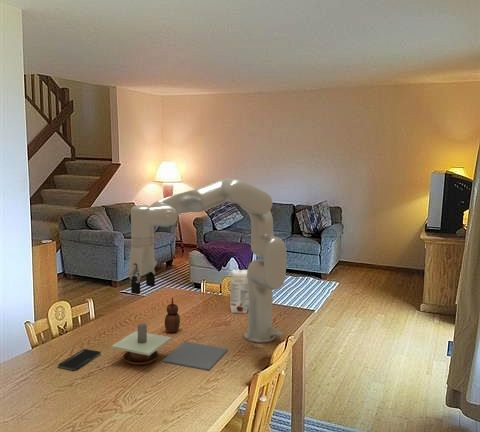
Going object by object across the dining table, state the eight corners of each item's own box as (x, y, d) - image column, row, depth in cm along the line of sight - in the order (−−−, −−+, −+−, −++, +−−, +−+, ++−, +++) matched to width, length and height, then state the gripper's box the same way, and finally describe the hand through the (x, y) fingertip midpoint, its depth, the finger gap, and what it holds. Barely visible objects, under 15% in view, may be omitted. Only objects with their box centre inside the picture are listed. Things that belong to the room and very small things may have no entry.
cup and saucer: (164, 358, 175) (164, 342, 174) (141, 371, 165) (141, 353, 164) (140, 350, 181) (140, 334, 181) (116, 362, 171) (115, 345, 170)
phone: (56, 365, 166) (84, 348, 180) (56, 368, 166) (84, 351, 180) (75, 369, 163) (102, 351, 177) (75, 372, 163) (102, 354, 177)
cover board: (171, 339, 177) (171, 321, 176) (148, 355, 163) (148, 336, 162) (136, 332, 182) (136, 315, 181) (111, 347, 168) (111, 329, 167)
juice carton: (248, 313, 223) (249, 273, 220) (229, 313, 223) (230, 273, 220) (248, 308, 230) (249, 269, 227) (230, 308, 230) (231, 268, 227)
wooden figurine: (176, 334, 196) (176, 298, 194) (162, 333, 198) (162, 297, 195) (181, 328, 203) (181, 293, 201) (168, 327, 204) (168, 292, 202)
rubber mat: (228, 350, 183) (228, 348, 183) (209, 370, 166) (209, 369, 166) (184, 342, 189) (184, 341, 189) (162, 361, 172) (162, 360, 172)
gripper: (146, 236, 176) (146, 282, 179) (118, 245, 160) (120, 295, 163) (164, 237, 174) (164, 284, 176) (138, 247, 158) (139, 298, 160)
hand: (143, 289), depth 170 cm, fingers open, 9 cm apart
